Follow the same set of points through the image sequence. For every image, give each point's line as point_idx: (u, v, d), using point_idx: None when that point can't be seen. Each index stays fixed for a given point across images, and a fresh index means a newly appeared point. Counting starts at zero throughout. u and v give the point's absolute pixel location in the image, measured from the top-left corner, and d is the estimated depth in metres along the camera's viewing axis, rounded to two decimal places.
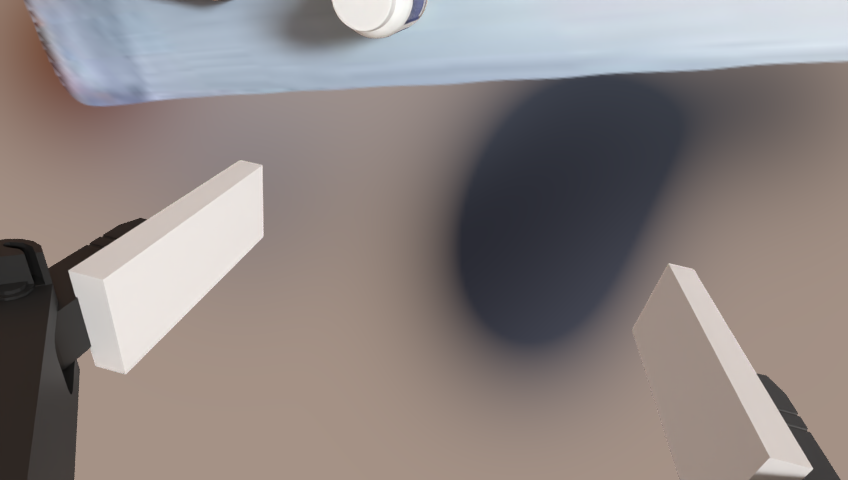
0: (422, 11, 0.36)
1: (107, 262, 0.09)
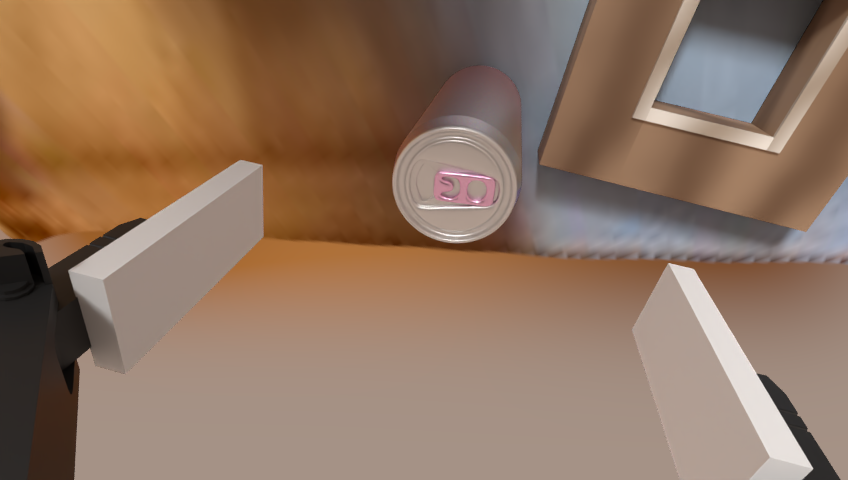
0: None
1: (107, 262, 0.09)
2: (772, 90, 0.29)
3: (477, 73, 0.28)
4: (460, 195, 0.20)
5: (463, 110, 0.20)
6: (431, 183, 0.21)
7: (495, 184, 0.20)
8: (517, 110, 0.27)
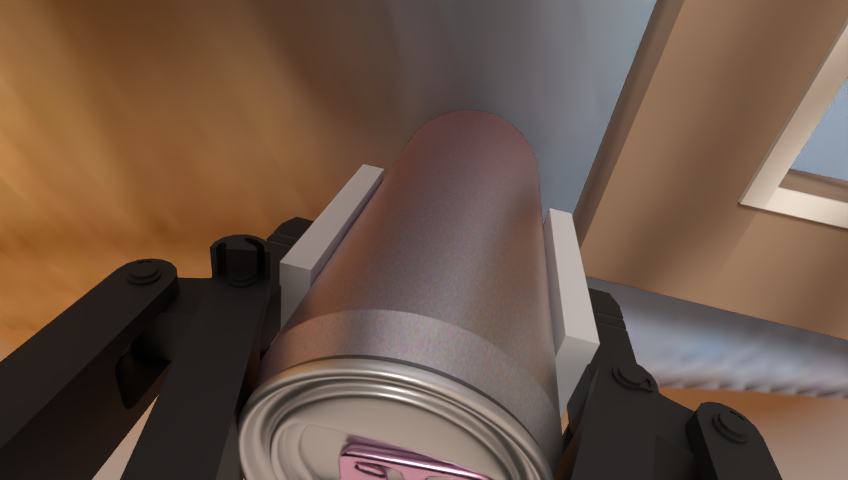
0: None
1: (306, 255, 0.11)
2: None
3: (462, 131, 0.16)
4: None
5: (410, 281, 0.08)
6: (335, 457, 0.08)
7: None
8: (536, 205, 0.14)
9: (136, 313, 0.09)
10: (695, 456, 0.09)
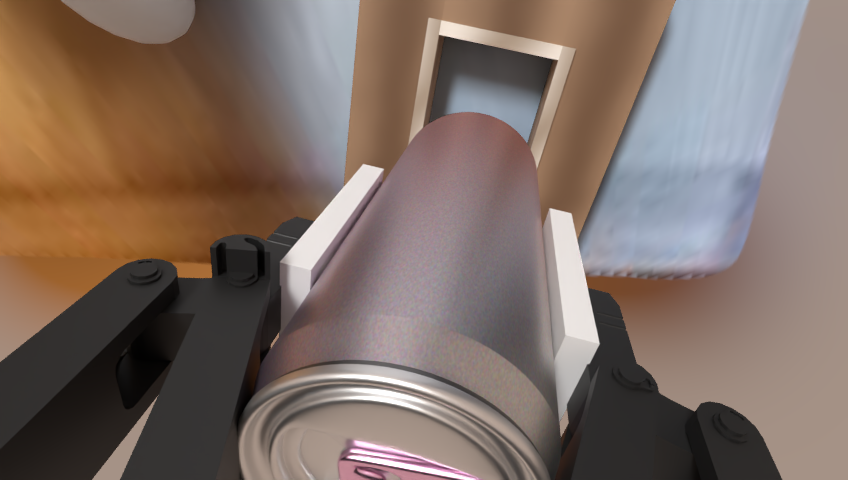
0: None
1: (306, 255, 0.11)
2: None
3: (461, 133, 0.16)
4: None
5: (409, 286, 0.08)
6: (334, 460, 0.08)
7: None
8: (535, 208, 0.14)
9: (136, 313, 0.09)
10: (695, 456, 0.09)
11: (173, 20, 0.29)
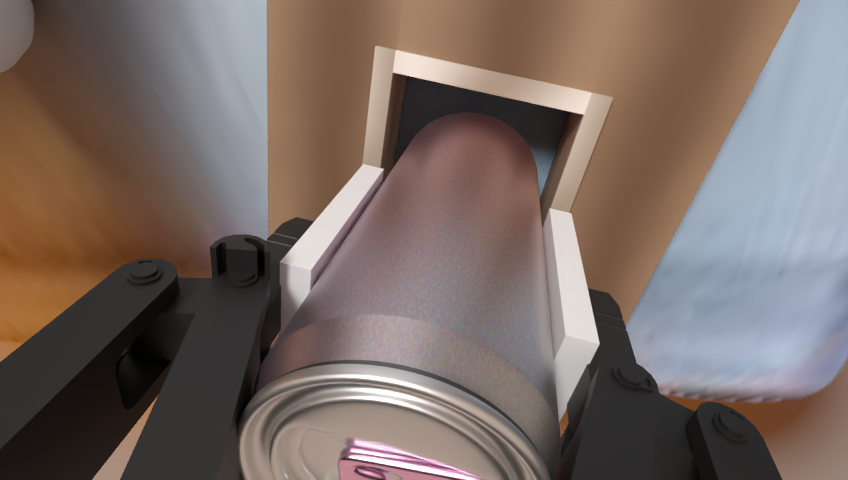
0: None
1: (306, 255, 0.11)
2: None
3: (461, 134, 0.16)
4: None
5: (409, 286, 0.08)
6: (335, 460, 0.08)
7: None
8: (535, 208, 0.14)
9: (136, 313, 0.09)
10: (695, 456, 0.09)
11: None
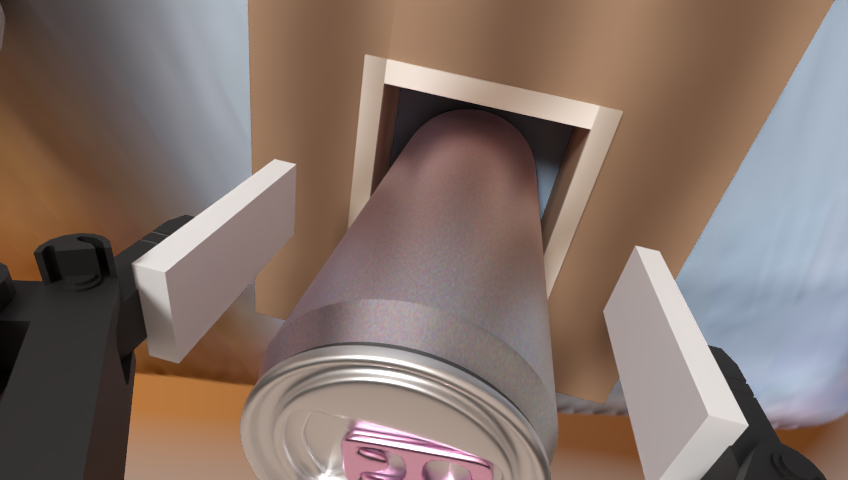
0: None
1: (166, 256, 0.10)
2: (541, 221, 0.21)
3: (460, 129, 0.16)
4: None
5: (410, 273, 0.08)
6: (337, 443, 0.09)
7: (493, 469, 0.08)
8: (533, 202, 0.14)
9: None
10: None
11: None
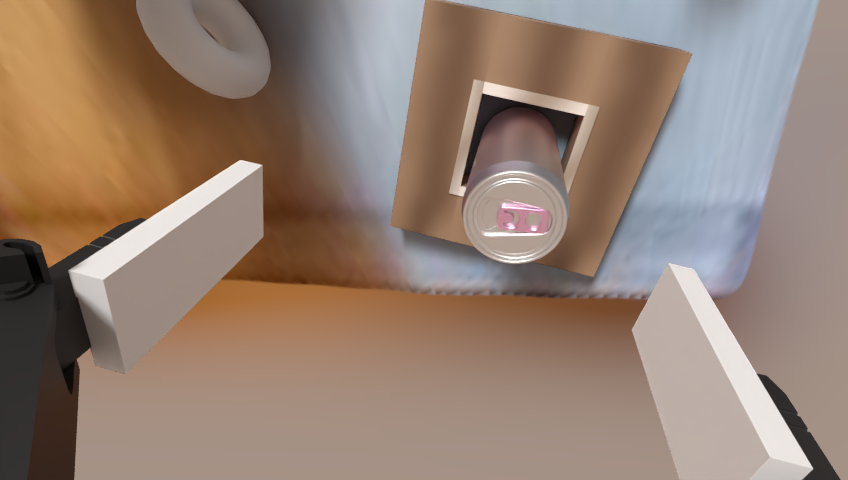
0: None
1: (107, 262, 0.09)
2: None
3: (520, 116, 0.33)
4: (519, 225, 0.25)
5: (520, 155, 0.25)
6: (494, 215, 0.25)
7: (549, 215, 0.24)
8: (557, 148, 0.31)
9: None
10: None
11: (257, 79, 0.34)
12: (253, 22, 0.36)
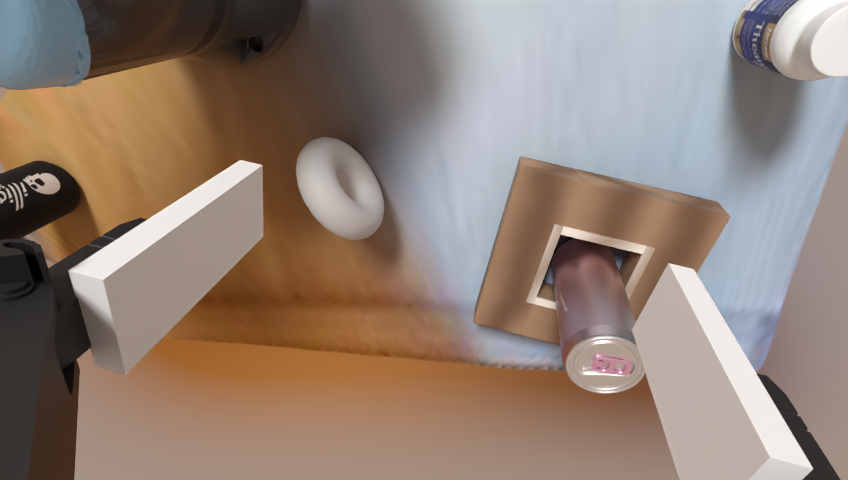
0: None
1: (107, 262, 0.09)
2: None
3: (591, 253, 0.42)
4: (609, 369, 0.34)
5: (610, 317, 0.34)
6: (589, 360, 0.34)
7: (632, 364, 0.33)
8: (623, 285, 0.40)
9: None
10: None
11: (379, 223, 0.42)
12: (370, 170, 0.44)
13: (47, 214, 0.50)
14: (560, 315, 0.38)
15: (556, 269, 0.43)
